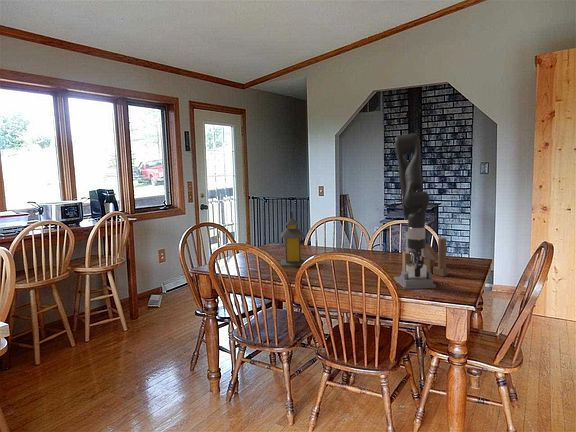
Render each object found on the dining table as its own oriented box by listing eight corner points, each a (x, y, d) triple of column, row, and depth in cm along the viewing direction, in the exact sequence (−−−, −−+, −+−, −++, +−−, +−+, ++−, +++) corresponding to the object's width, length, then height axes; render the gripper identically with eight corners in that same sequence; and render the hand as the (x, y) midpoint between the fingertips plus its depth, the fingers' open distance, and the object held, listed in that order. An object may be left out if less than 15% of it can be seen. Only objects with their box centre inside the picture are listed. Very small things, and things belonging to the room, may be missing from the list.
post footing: (393, 278, 209) (393, 251, 207) (423, 277, 209) (423, 250, 207) (403, 289, 192) (403, 259, 190) (435, 287, 192) (436, 258, 191)
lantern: (280, 266, 240) (278, 211, 236) (280, 261, 254) (279, 209, 250) (306, 266, 240) (305, 210, 236) (305, 260, 254) (303, 208, 250)
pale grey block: (406, 279, 198) (406, 264, 198) (423, 279, 199) (423, 263, 198) (408, 281, 195) (408, 266, 194) (426, 281, 195) (426, 265, 194)
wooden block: (428, 271, 220) (428, 235, 218) (447, 275, 212) (448, 238, 210) (423, 272, 218) (424, 236, 216) (443, 276, 210) (443, 239, 208)
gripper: (403, 235, 201) (403, 272, 203) (412, 240, 187) (412, 280, 189) (419, 234, 201) (419, 271, 204) (430, 239, 187) (430, 279, 189)
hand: (416, 275), depth 196 cm, fingers closed on pale grey block, 3 cm apart
